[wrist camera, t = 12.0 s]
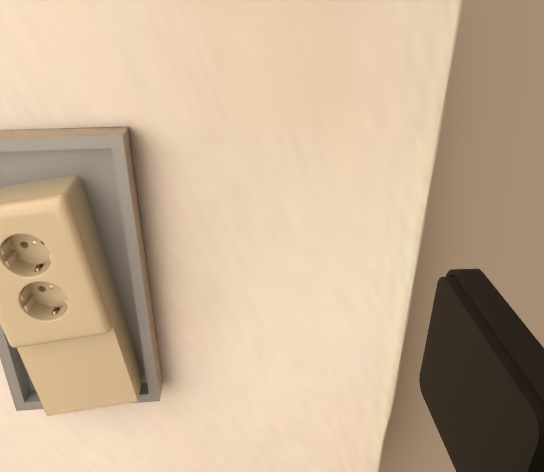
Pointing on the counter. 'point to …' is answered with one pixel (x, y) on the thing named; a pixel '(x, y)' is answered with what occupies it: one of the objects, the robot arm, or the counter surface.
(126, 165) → the grey rectangular tray
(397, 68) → the counter surface
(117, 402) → the electrical outlet
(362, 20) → the counter surface
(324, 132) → the counter surface
